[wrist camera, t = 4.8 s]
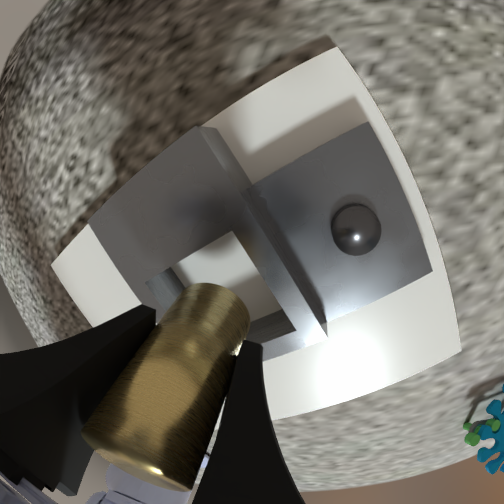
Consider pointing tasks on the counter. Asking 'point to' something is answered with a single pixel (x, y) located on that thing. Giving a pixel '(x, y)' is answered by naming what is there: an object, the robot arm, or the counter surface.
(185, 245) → the plate
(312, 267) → the plate
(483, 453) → the gear
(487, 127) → the counter surface
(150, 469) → the pin
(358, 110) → the mat
